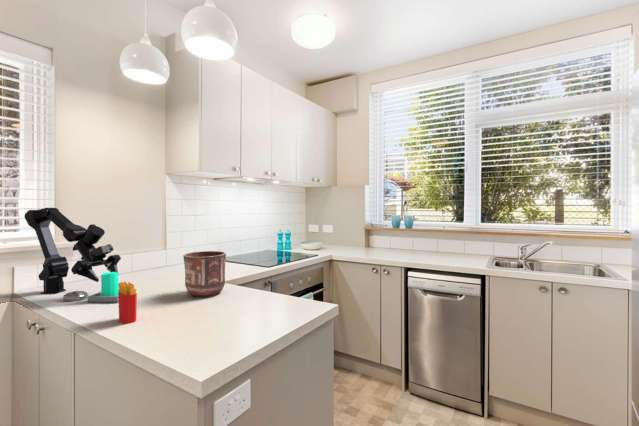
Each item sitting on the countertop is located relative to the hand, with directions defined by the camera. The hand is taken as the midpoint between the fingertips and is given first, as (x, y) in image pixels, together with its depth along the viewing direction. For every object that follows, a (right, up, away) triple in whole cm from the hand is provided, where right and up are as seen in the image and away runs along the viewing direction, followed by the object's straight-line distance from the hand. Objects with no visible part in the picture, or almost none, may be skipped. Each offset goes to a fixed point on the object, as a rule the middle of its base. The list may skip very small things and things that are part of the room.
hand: (108, 278), depth 135 cm
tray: (+2, -8, 0) cm, 9 cm away
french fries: (+24, -9, -26) cm, 36 cm away
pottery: (+38, -9, +8) cm, 40 cm away
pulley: (-13, -8, -1) cm, 15 cm away
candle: (+2, -8, -1) cm, 8 cm away
